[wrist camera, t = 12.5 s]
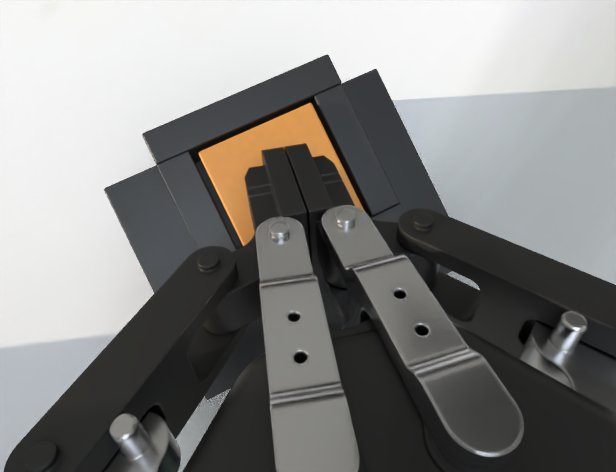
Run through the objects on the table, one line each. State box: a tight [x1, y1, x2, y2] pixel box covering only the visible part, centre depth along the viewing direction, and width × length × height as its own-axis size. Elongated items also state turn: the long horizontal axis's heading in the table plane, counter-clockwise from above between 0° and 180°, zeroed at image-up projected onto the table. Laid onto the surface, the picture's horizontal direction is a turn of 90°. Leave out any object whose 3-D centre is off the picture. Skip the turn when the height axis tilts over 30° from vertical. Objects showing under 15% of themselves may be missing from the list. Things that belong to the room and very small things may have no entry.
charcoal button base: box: [104, 55, 452, 400], centre depth 19 cm, size 12×10×6 cm
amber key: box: [199, 103, 364, 246], centre depth 17 cm, size 4×4×2 cm
